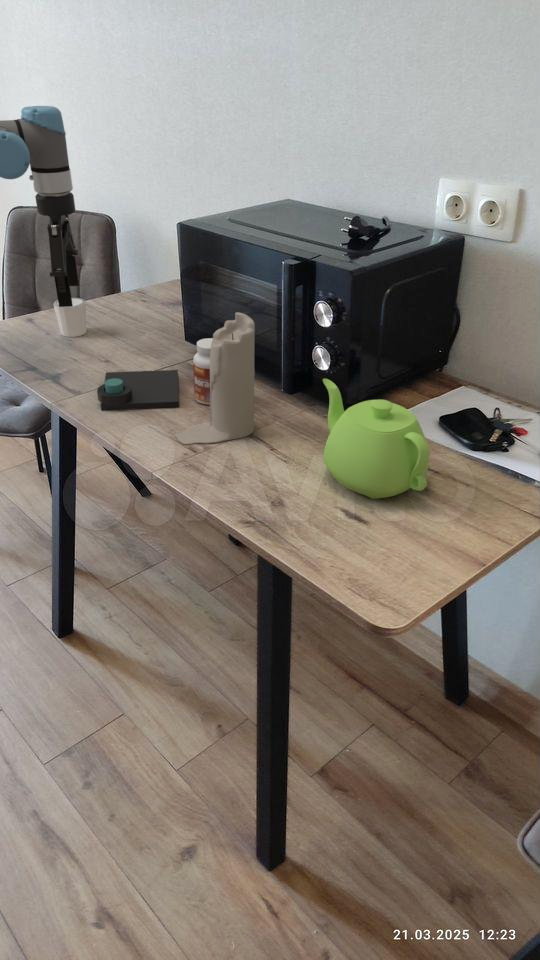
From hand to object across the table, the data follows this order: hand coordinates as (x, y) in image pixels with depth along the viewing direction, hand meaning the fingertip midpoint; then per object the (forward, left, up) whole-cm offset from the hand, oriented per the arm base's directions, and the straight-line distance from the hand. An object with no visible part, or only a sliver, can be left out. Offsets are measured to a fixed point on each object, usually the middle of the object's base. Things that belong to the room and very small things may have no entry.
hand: (69, 295), depth 154 cm
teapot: (+52, -65, -9) cm, 84 cm away
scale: (+16, -32, -8) cm, 37 cm away
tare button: (+11, -37, -6) cm, 39 cm away
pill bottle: (+29, -36, -9) cm, 47 cm away
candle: (+29, -49, -9) cm, 58 cm away
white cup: (0, 0, -9) cm, 9 cm away
